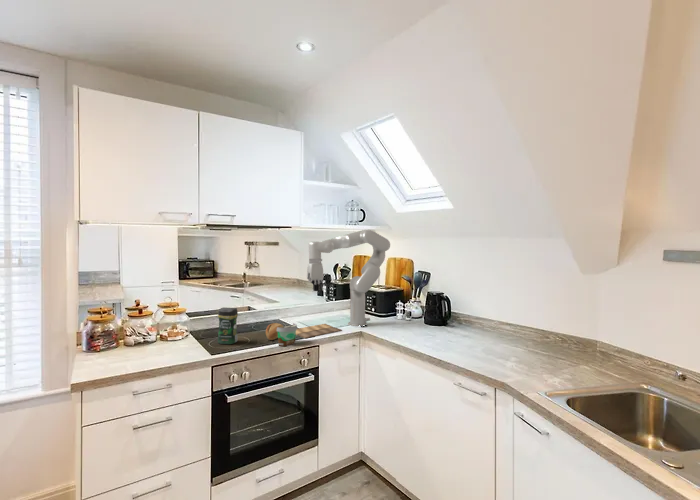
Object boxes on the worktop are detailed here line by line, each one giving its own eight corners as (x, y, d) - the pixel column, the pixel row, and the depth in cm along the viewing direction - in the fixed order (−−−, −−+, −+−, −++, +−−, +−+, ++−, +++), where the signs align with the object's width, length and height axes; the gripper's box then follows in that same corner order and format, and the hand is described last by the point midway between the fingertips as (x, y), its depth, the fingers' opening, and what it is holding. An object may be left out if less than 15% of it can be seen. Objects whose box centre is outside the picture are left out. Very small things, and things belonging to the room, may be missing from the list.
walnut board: (333, 329, 219) (333, 327, 219) (341, 332, 213) (341, 329, 213) (297, 336, 202) (297, 334, 202) (305, 339, 196) (305, 337, 196)
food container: (284, 349, 179) (284, 329, 179) (276, 346, 183) (276, 327, 183) (302, 343, 189) (302, 324, 189) (293, 341, 193) (294, 323, 192)
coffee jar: (215, 344, 186) (215, 308, 185) (222, 340, 193) (222, 305, 193) (233, 345, 184) (233, 309, 184) (239, 340, 192) (239, 306, 192)
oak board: (325, 325, 226) (325, 323, 226) (332, 329, 220) (333, 326, 220) (289, 332, 209) (289, 330, 208) (296, 336, 203) (297, 333, 202)
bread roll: (261, 341, 193) (261, 326, 193) (271, 333, 208) (271, 320, 207) (278, 342, 191) (278, 327, 191) (287, 334, 206) (287, 321, 206)
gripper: (320, 260, 230) (321, 288, 230) (301, 262, 219) (302, 291, 220) (328, 260, 224) (329, 290, 225) (309, 262, 214) (310, 293, 215)
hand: (316, 290), depth 222 cm, fingers closed
